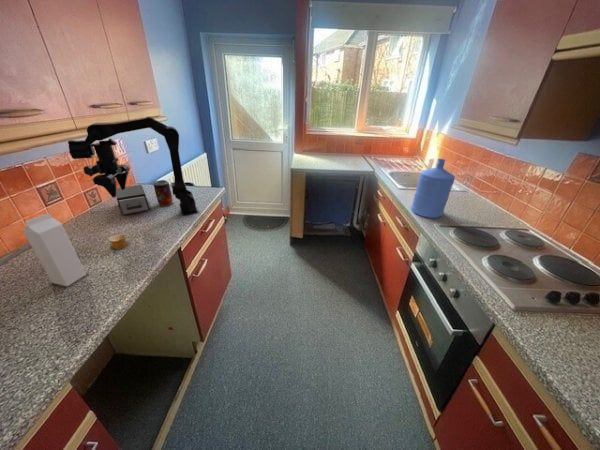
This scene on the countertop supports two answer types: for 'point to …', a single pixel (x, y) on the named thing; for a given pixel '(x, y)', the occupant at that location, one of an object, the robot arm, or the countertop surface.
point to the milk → (54, 249)
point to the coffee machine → (130, 194)
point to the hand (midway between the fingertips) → (119, 193)
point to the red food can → (163, 192)
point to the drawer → (133, 204)
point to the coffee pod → (118, 241)
